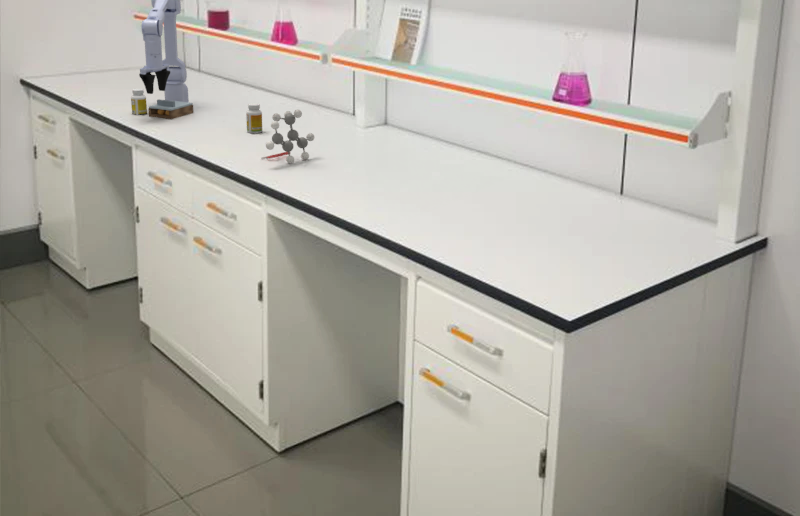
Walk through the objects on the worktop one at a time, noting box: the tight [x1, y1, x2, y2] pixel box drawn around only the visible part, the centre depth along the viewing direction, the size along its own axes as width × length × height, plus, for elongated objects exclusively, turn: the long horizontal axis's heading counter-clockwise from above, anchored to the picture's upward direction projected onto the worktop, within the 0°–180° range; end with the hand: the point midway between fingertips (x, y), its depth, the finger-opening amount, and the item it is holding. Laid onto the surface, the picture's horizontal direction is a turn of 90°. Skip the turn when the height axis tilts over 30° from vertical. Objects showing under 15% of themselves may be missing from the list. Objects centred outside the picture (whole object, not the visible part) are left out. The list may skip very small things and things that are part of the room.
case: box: [147, 104, 194, 120], centre depth 335 cm, size 14×10×4 cm
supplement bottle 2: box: [245, 103, 263, 134], centre depth 313 cm, size 5×5×10 cm
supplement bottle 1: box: [130, 88, 148, 116], centre depth 333 cm, size 5×5×10 cm
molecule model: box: [260, 109, 315, 165], centre depth 276 cm, size 20×16×16 cm
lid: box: [148, 99, 194, 111], centre depth 333 cm, size 14×10×3 cm
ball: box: [157, 109, 165, 115], centre depth 332 cm, size 3×3×3 cm
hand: (156, 92), depth 324 cm, fingers open, 7 cm apart
